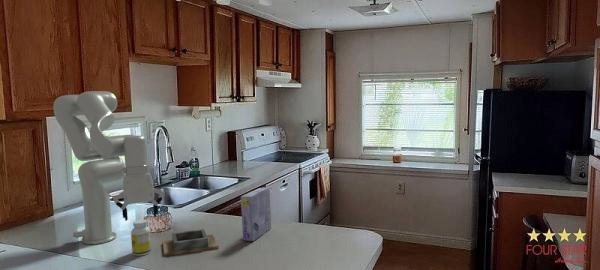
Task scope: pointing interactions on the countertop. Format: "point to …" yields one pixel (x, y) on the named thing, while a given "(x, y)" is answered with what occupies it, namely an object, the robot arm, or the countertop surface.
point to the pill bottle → (140, 238)
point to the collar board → (189, 242)
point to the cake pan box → (256, 213)
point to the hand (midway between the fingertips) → (140, 217)
